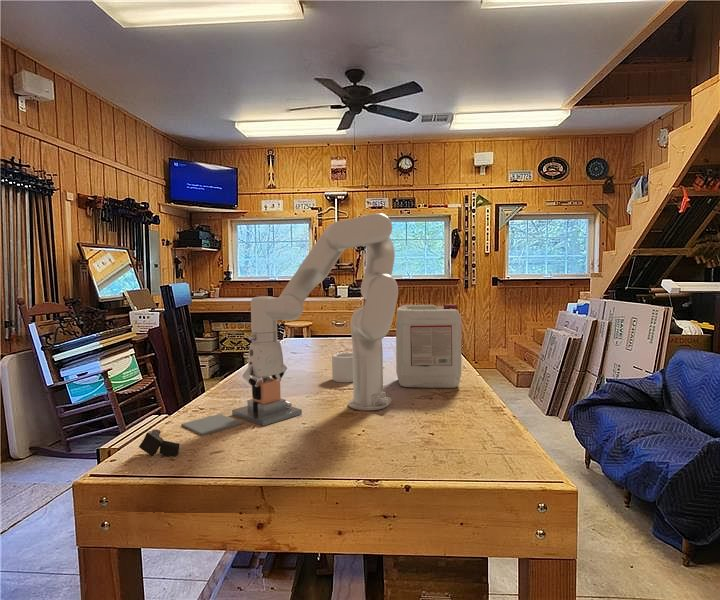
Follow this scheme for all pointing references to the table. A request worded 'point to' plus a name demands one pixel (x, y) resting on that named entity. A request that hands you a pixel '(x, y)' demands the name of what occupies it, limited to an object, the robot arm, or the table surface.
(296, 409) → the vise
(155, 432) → the lighter
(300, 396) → the table surface
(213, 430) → the mat
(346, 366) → the mug
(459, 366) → the jerry can
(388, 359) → the table surface
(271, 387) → the collar
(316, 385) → the table surface
